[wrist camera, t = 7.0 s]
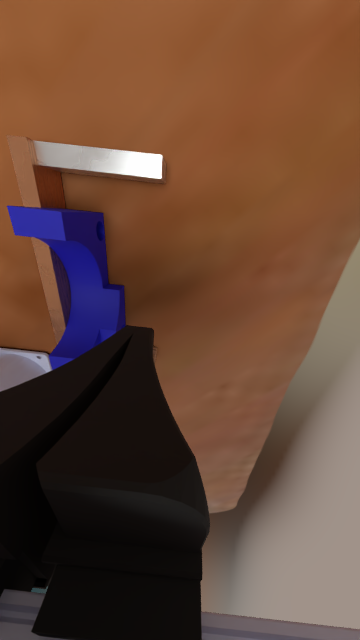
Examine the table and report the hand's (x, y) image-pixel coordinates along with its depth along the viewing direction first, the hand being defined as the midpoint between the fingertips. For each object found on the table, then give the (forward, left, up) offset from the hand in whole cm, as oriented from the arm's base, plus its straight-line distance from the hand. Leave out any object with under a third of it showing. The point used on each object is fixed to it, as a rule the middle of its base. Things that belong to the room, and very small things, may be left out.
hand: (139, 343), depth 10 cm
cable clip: (-6, -1, -10) cm, 12 cm away
